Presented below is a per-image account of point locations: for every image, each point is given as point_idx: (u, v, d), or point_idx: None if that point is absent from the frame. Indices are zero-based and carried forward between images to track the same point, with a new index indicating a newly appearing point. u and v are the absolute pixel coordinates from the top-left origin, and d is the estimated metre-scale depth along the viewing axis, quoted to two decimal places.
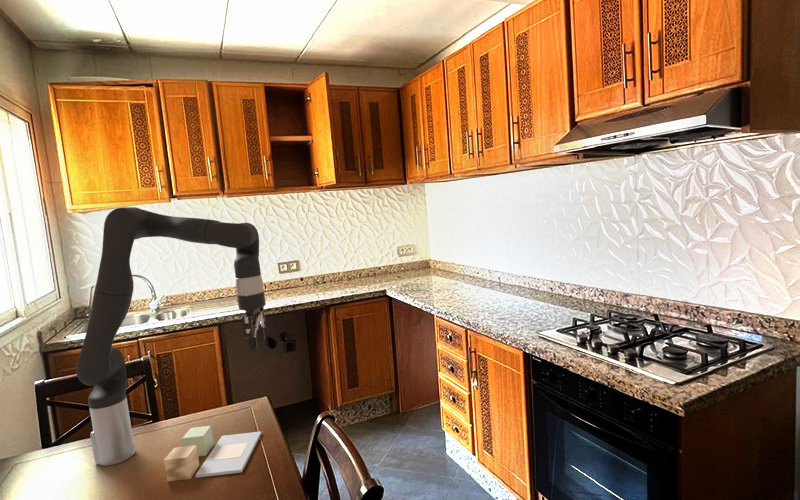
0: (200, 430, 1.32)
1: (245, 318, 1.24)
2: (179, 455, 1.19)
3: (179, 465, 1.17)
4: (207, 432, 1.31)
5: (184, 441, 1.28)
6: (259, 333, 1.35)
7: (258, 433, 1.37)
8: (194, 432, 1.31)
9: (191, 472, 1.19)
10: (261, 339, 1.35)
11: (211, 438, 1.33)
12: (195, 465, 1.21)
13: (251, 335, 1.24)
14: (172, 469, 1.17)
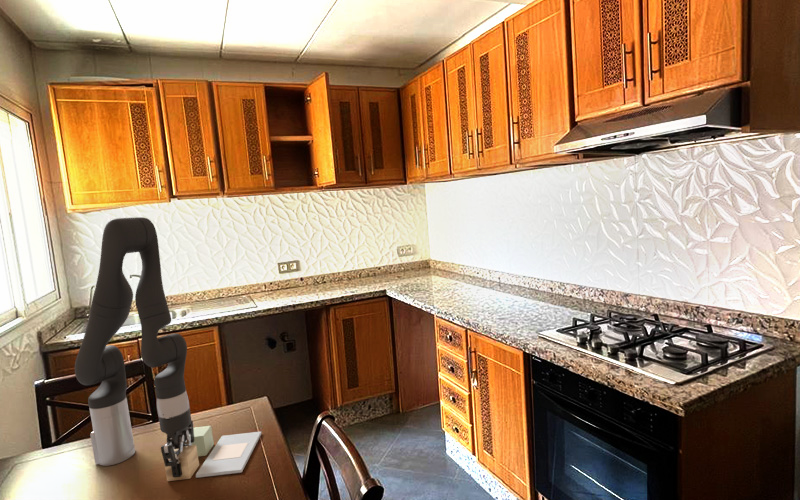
0: (200, 430, 1.32)
1: (164, 448, 1.13)
2: None
3: None
4: (207, 432, 1.31)
5: None
6: None
7: (258, 433, 1.37)
8: (194, 432, 1.31)
9: (191, 472, 1.19)
10: None
11: (211, 438, 1.33)
12: (195, 465, 1.21)
13: (173, 464, 1.14)
14: None
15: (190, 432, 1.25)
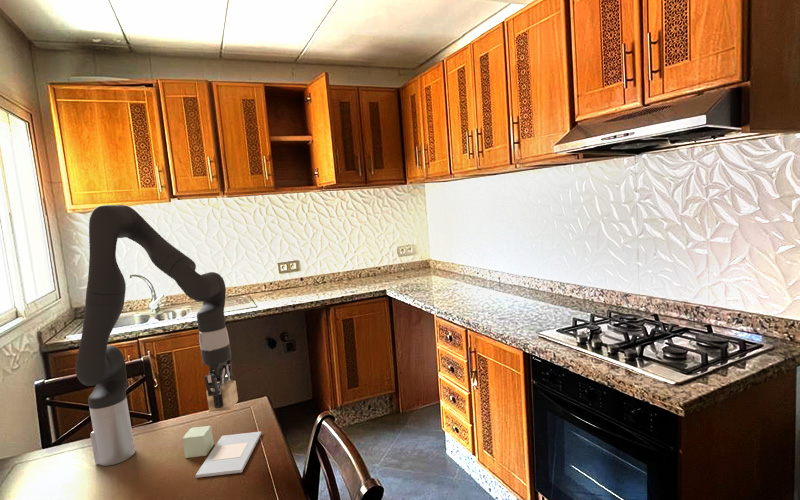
0: (200, 430, 1.32)
1: (208, 378, 1.18)
2: None
3: None
4: (207, 432, 1.31)
5: (184, 441, 1.28)
6: None
7: (258, 433, 1.37)
8: (194, 432, 1.31)
9: (232, 404, 1.24)
10: None
11: (211, 438, 1.33)
12: (234, 398, 1.27)
13: (216, 394, 1.19)
14: None
15: (229, 369, 1.30)
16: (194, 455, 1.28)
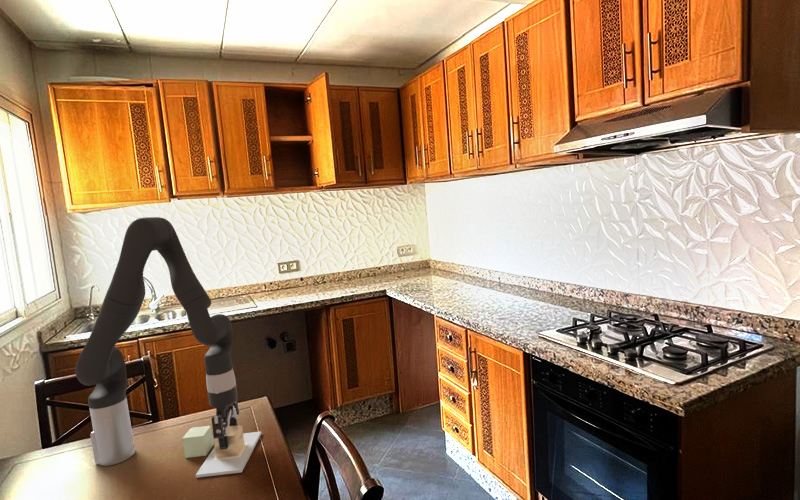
0: (200, 430, 1.32)
1: (215, 418, 1.20)
2: (227, 433, 1.26)
3: None
4: (207, 432, 1.31)
5: (184, 441, 1.28)
6: (232, 425, 1.31)
7: (258, 433, 1.37)
8: (194, 432, 1.31)
9: (238, 449, 1.26)
10: None
11: (211, 438, 1.33)
12: (241, 443, 1.28)
13: (221, 436, 1.20)
14: None
15: (235, 406, 1.32)
16: (194, 455, 1.28)
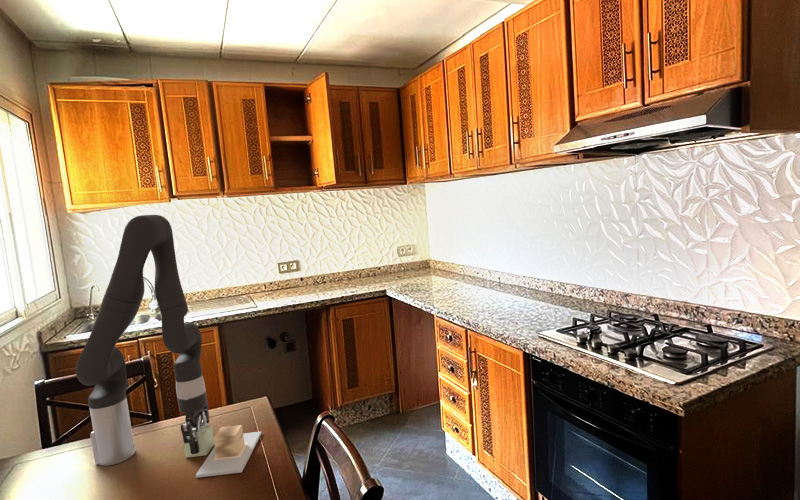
0: (201, 429, 1.32)
1: (184, 426, 1.24)
2: (227, 433, 1.26)
3: (227, 443, 1.24)
4: (207, 432, 1.31)
5: None
6: None
7: (258, 433, 1.37)
8: None
9: (238, 449, 1.26)
10: None
11: (211, 438, 1.33)
12: (241, 443, 1.28)
13: (191, 441, 1.25)
14: (221, 447, 1.24)
15: (205, 414, 1.36)
16: (194, 455, 1.28)
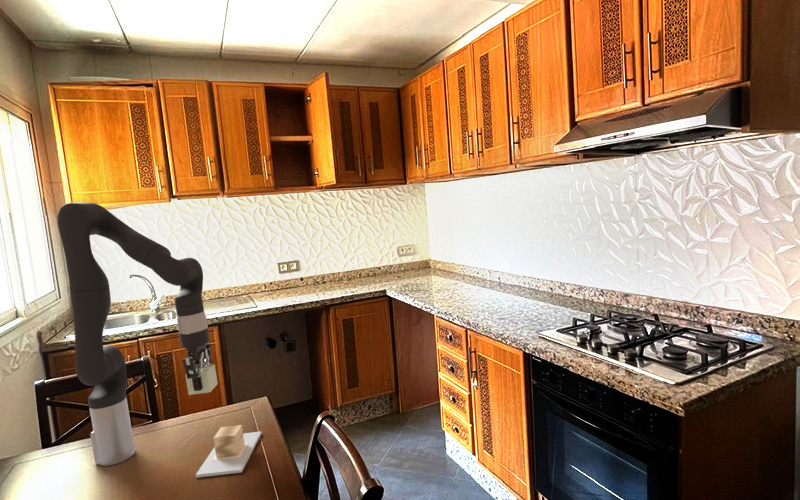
0: (203, 367, 1.28)
1: (186, 360, 1.20)
2: (227, 433, 1.26)
3: (227, 443, 1.24)
4: (211, 369, 1.28)
5: None
6: None
7: (258, 433, 1.37)
8: None
9: (238, 449, 1.26)
10: None
11: (215, 377, 1.30)
12: (241, 443, 1.28)
13: (194, 376, 1.22)
14: (221, 447, 1.24)
15: (208, 353, 1.33)
16: (198, 392, 1.25)
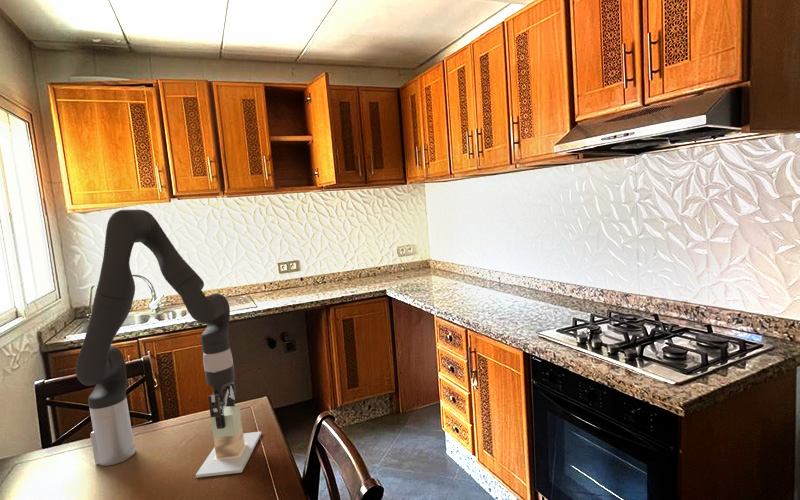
0: (228, 409, 1.27)
1: (212, 397, 1.19)
2: None
3: (227, 443, 1.24)
4: (236, 411, 1.27)
5: (213, 420, 1.24)
6: (229, 405, 1.30)
7: (258, 433, 1.37)
8: None
9: (238, 449, 1.26)
10: None
11: (239, 418, 1.29)
12: (241, 443, 1.28)
13: (218, 414, 1.19)
14: (221, 447, 1.24)
15: (232, 386, 1.32)
16: (223, 435, 1.24)
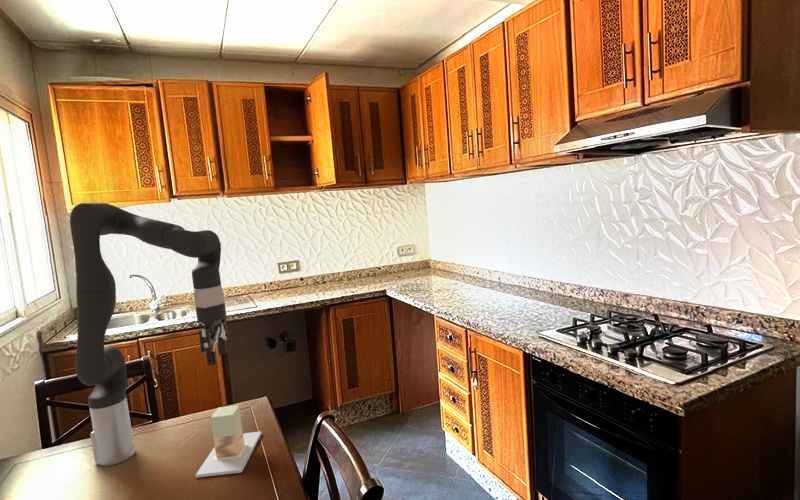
0: (228, 409, 1.27)
1: (202, 331, 1.17)
2: None
3: (227, 443, 1.24)
4: (236, 411, 1.27)
5: (213, 420, 1.24)
6: (221, 346, 1.29)
7: (258, 433, 1.37)
8: (222, 411, 1.26)
9: (238, 449, 1.26)
10: (223, 352, 1.29)
11: (239, 418, 1.29)
12: (241, 443, 1.28)
13: (209, 349, 1.17)
14: (221, 447, 1.24)
15: (224, 327, 1.30)
16: (223, 435, 1.24)
